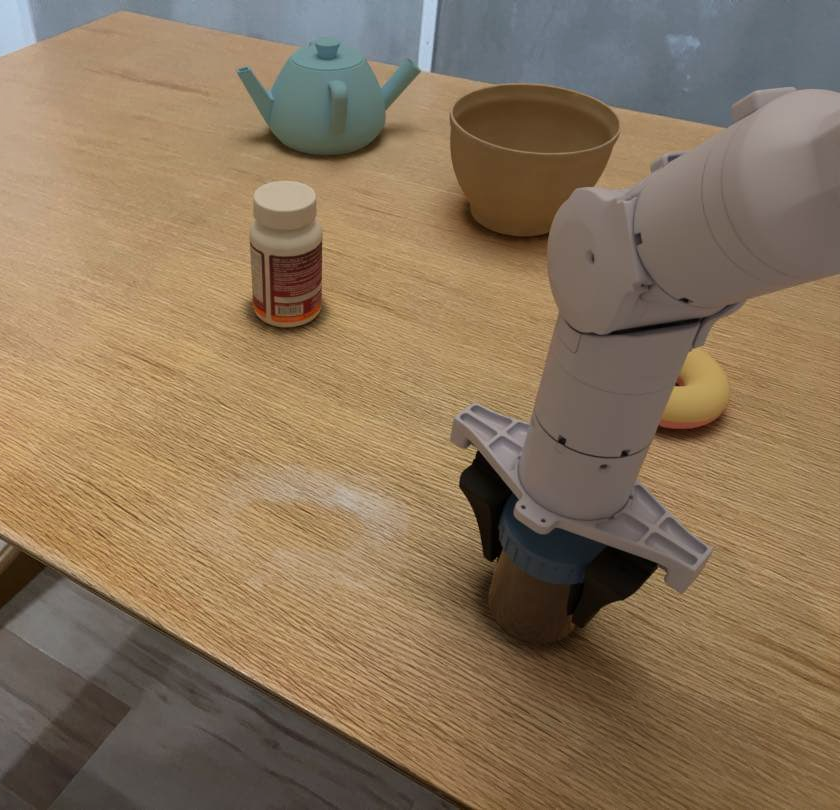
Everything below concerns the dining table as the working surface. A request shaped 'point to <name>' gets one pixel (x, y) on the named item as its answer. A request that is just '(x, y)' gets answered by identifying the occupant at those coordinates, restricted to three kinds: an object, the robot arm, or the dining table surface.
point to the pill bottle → (286, 254)
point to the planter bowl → (527, 151)
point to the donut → (697, 393)
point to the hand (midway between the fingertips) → (539, 581)
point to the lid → (546, 549)
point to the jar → (531, 603)
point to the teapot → (327, 98)
